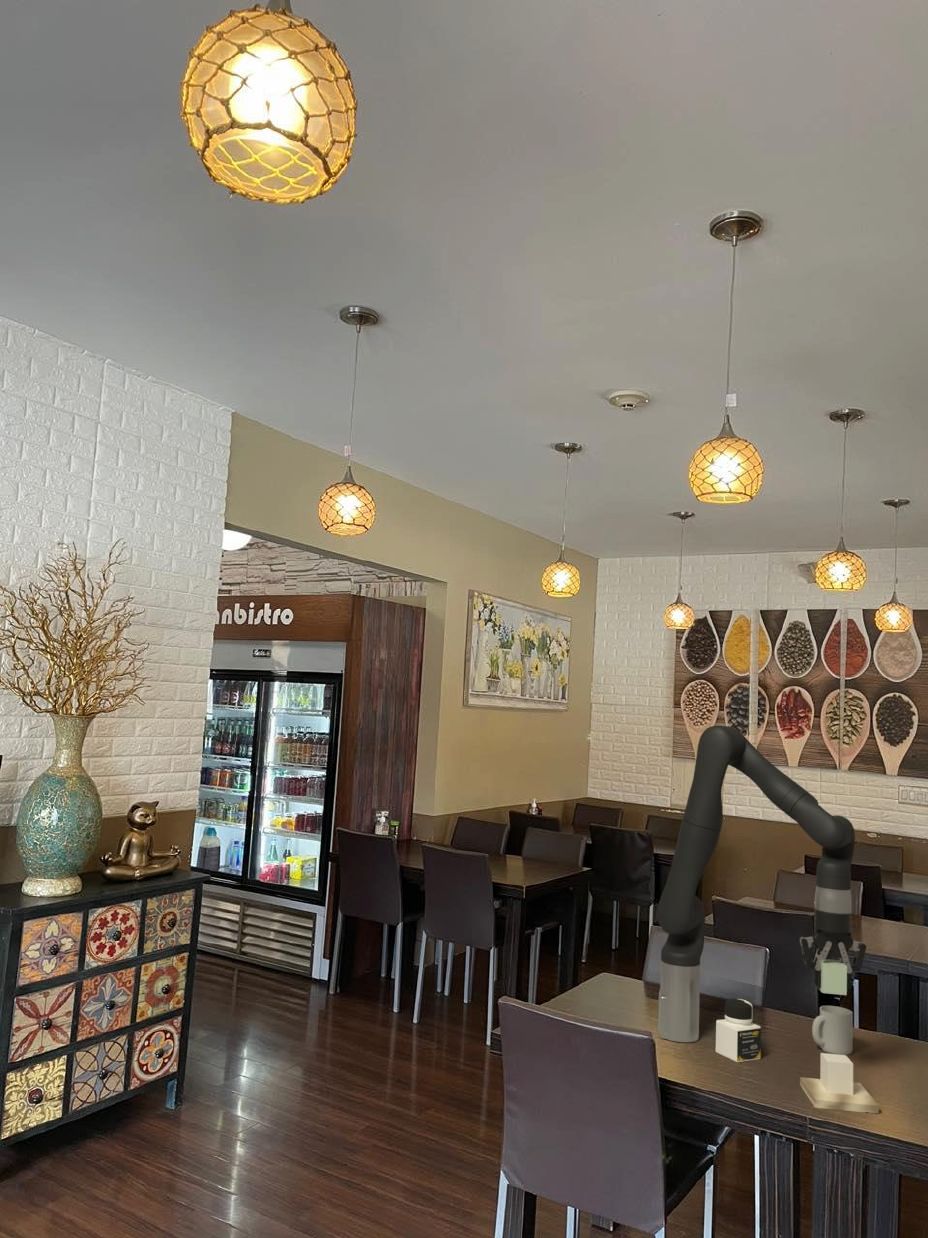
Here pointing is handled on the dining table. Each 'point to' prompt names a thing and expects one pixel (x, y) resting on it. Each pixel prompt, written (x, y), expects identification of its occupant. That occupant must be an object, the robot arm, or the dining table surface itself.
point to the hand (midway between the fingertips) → (831, 988)
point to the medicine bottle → (738, 1032)
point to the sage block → (833, 977)
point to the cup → (834, 1030)
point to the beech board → (839, 1097)
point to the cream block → (836, 1074)
